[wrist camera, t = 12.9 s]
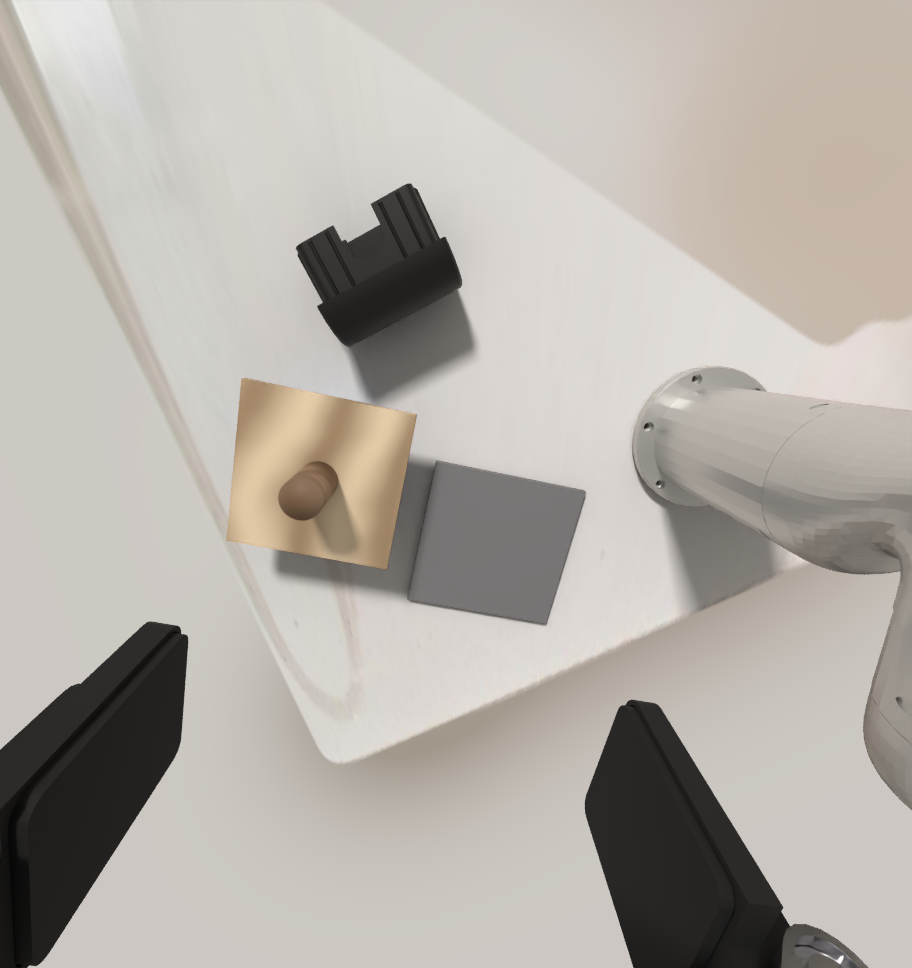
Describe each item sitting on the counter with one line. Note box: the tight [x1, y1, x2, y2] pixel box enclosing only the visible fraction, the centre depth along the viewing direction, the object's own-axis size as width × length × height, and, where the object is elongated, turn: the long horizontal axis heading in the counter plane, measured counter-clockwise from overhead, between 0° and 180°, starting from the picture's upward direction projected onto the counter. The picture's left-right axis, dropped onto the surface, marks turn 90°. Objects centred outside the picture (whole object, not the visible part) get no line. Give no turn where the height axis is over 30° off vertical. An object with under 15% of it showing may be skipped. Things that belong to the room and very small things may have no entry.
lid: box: [227, 378, 417, 569], centre depth 35 cm, size 13×13×6 cm
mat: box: [407, 461, 586, 624], centre depth 45 cm, size 14×14×1 cm
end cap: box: [296, 183, 462, 346], centre depth 35 cm, size 10×7×7 cm
